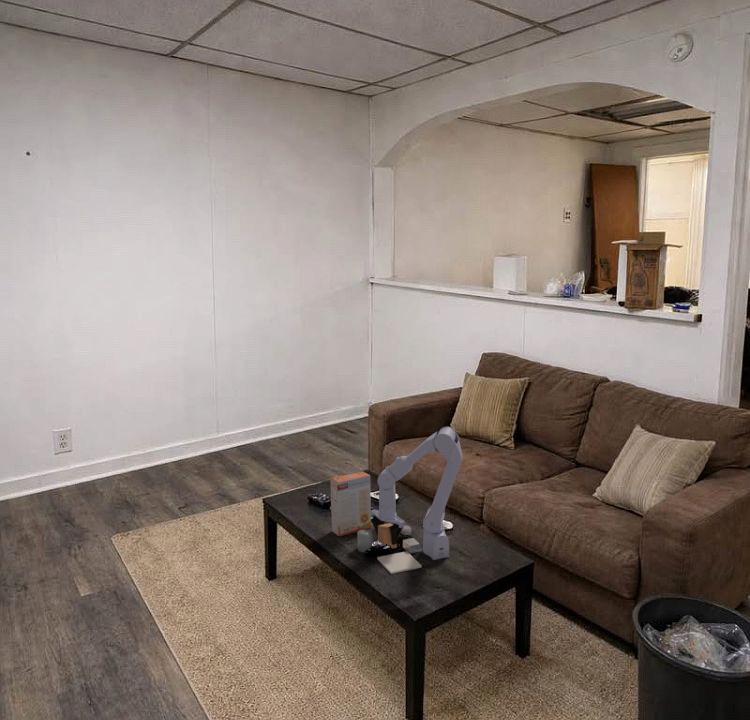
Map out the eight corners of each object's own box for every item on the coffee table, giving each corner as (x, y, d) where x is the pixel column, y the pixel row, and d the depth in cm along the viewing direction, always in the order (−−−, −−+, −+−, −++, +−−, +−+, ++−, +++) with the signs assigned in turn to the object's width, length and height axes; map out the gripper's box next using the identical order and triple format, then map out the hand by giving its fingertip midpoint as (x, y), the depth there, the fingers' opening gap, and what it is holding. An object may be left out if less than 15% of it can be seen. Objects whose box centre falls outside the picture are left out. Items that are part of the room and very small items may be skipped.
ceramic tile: (421, 567, 204) (421, 565, 204) (390, 574, 200) (390, 572, 200) (406, 552, 214) (406, 551, 214) (377, 558, 210) (377, 557, 210)
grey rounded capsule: (374, 550, 216) (374, 534, 215) (360, 553, 214) (360, 537, 213) (369, 544, 220) (369, 528, 219) (355, 547, 218) (355, 530, 217)
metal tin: (419, 552, 215) (419, 543, 215) (409, 554, 213) (409, 546, 213) (413, 545, 220) (413, 537, 219) (402, 548, 218) (403, 540, 217)
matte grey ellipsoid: (414, 536, 227) (414, 530, 226) (399, 539, 224) (399, 533, 224) (406, 530, 232) (406, 523, 232) (392, 533, 230) (392, 526, 229)
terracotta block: (396, 547, 218) (396, 528, 217) (383, 550, 216) (383, 531, 215) (390, 541, 222) (390, 523, 221) (377, 544, 220) (377, 525, 219)
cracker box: (363, 522, 238) (363, 470, 235) (371, 528, 233) (371, 475, 230) (330, 531, 231) (329, 477, 227) (338, 537, 226) (337, 482, 222)
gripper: (410, 506, 214) (410, 543, 217) (380, 495, 224) (380, 530, 227) (396, 512, 209) (396, 550, 212) (366, 500, 220) (366, 537, 222)
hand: (387, 540), depth 219 cm, fingers closed on terracotta block, 6 cm apart
